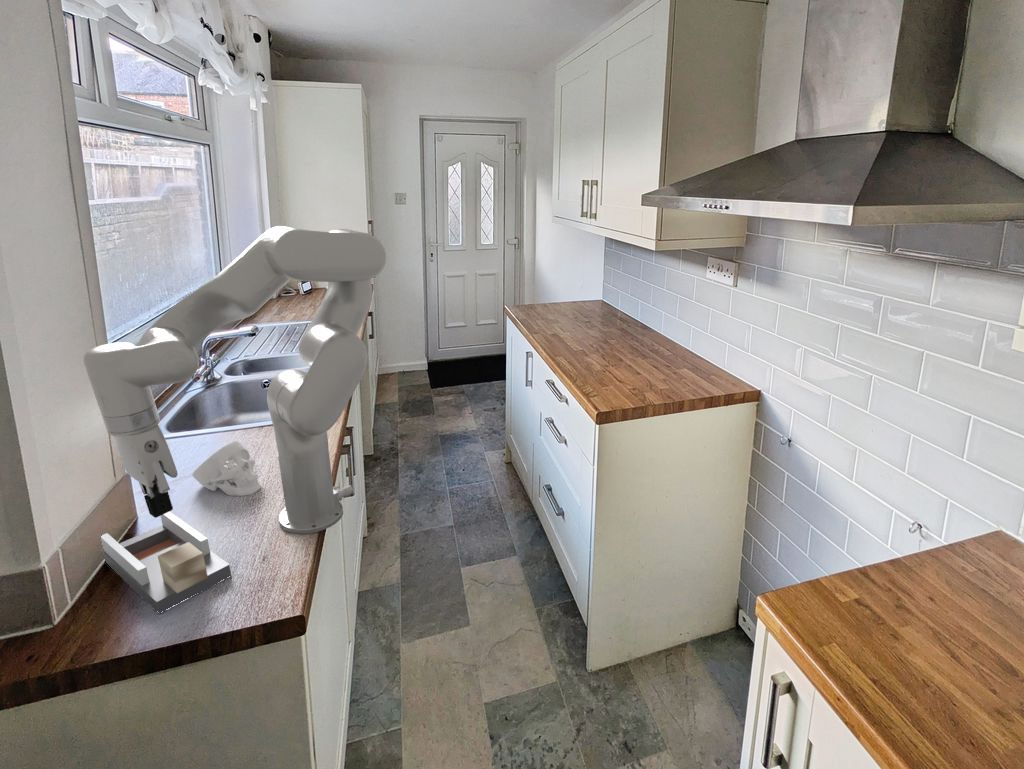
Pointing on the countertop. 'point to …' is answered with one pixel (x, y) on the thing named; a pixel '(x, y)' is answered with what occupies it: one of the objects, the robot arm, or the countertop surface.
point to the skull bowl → (229, 471)
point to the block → (182, 567)
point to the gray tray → (142, 564)
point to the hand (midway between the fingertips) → (161, 512)
